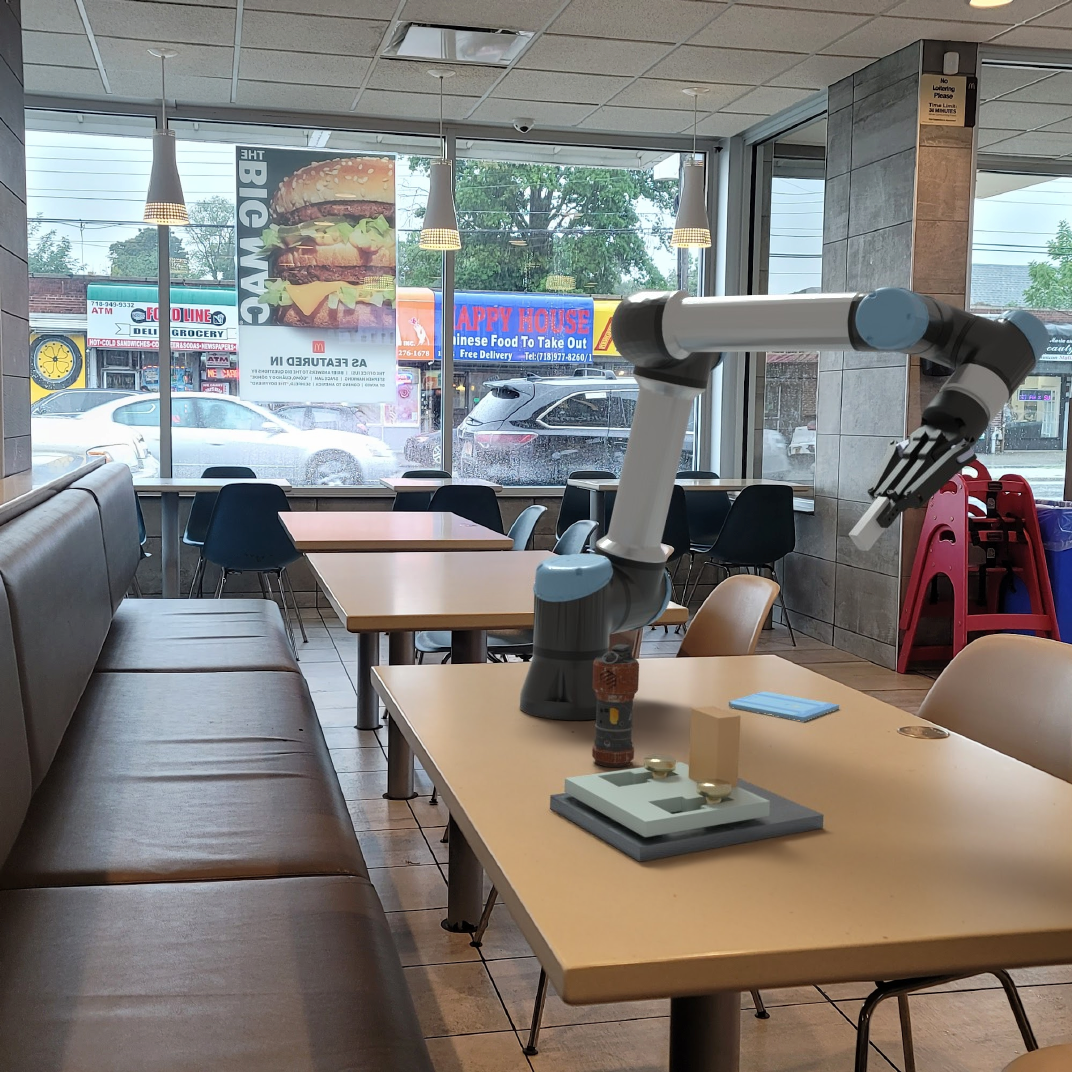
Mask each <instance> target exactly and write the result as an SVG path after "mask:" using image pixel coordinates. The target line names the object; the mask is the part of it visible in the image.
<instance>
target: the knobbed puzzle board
mask: <svg viewBox="0 0 1072 1072" xmlns="http://www.w3.org/2000/svg"><path fill="white" fill-rule="evenodd" d="M689 731H690V732H689V733H690V735H689V751H688V752H689V753H688V763H685V762H682V761H679V762H676V769H675V771H672V772H667V776H666V777H661V778H654V779H652V773H653V772H652V771H648V770H646V769H645V768H644V766H643V767H635V768H628V769H627V768H626V769H621V770H615V771H607V772H599V773H592V774H585V775H577V776H570V777H565V778H564V792H563V793H567V794H569V795H571V796H573V797H574V798H576V799H578V800H580V801H581V802H583V803H585V804H587V805H589V806H590V807H592V808H594V809H596V810H597V811H599V812H601V813H603V814H605V815H606V816H608V817H610V818H612V819H613V820H615V821H617V822H619V823H621V824H622V825H624V826H626V827H628V828H629V829H631V830H633V831H635V832H637V833H638V834H640V835H642V836H644V837H649V836H655V835H661V834H666V833H672V832H678V831H684V830H690V829H695V828H701V827H707V826H713V825H719V824H724V823H730V822H736V821H742V820H748V819H753V818H759V817H765V816H769V813H770V801H769V800H766V799H764V798H762V797H760V796H757V795H755V794H753V793H750V792H748V791H746V790H744V789H741V788H739V787H737V783H738V778H739V776H738V775H739V757H740V754H739V753H740V738H741V737H740V736H741V735H740V733H741V715H740V714H736V713H734V712H730V711H728V710H726V709H722V708H720V707H717V706H713V705H706V706H701V707H700V706H698V707H690V730H689ZM702 779H720V780H724V781H727V782H729V783H730V784H731V795H730V796H729V797H725V798H721V803H714V804H708V805H706V797H704V796H701V795H699V794H698V793H697V781H699V780H702ZM626 785H628V786H626ZM620 786H621V787H620ZM677 811H682V813H676V814H671V812H677Z"/></svg>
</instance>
